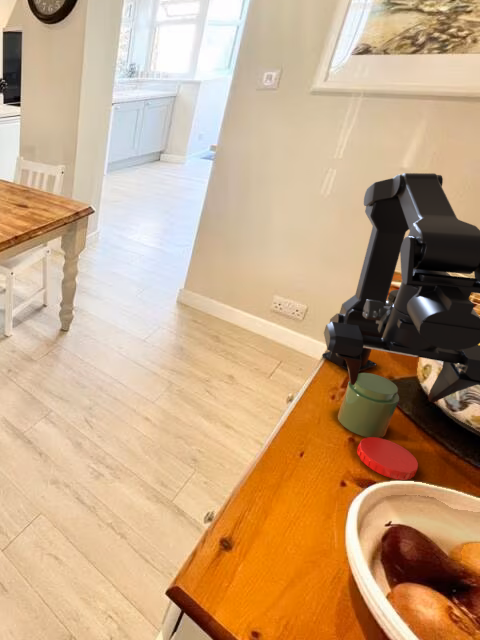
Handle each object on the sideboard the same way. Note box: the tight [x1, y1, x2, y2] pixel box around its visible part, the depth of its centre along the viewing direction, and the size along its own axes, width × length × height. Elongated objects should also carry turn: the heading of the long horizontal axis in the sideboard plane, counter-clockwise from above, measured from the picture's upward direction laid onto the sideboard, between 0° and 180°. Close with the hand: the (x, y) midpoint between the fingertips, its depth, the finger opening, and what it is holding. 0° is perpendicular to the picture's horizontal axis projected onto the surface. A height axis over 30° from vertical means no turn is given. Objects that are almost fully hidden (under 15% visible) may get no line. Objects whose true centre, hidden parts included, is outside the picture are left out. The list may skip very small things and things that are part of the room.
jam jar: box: [337, 372, 400, 438], centre depth 71 cm, size 6×6×10 cm
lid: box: [356, 437, 419, 481], centre depth 66 cm, size 7×7×2 cm
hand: (389, 391), depth 66 cm, fingers open, 9 cm apart
